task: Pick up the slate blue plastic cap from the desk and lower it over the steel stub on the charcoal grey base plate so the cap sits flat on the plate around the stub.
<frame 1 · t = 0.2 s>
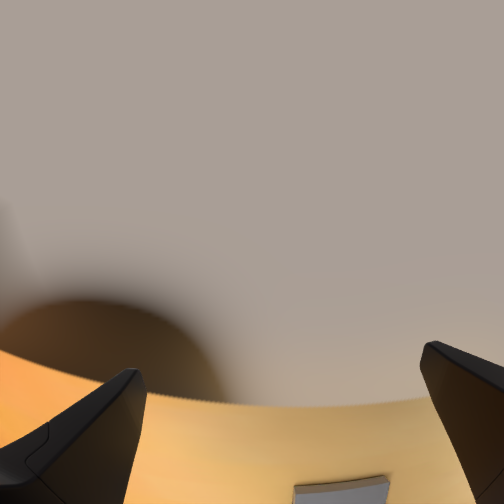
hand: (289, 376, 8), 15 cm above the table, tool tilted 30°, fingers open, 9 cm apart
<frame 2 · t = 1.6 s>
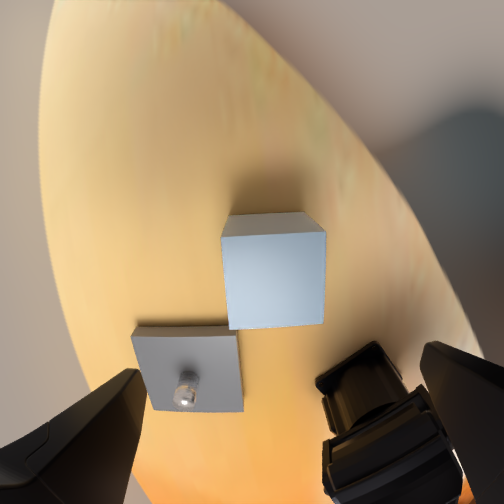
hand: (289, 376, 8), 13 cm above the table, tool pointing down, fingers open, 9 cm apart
housing cap: (268, 249, 21), on the table
base plate: (192, 367, 23), on the table
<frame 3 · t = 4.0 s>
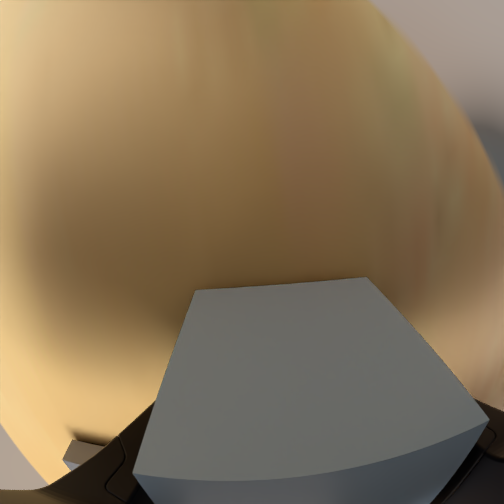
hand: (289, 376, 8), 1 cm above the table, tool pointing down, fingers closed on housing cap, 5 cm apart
housing cap: (285, 355, 9), on the table, touching gripper
base plate: (163, 490, 12), on the table
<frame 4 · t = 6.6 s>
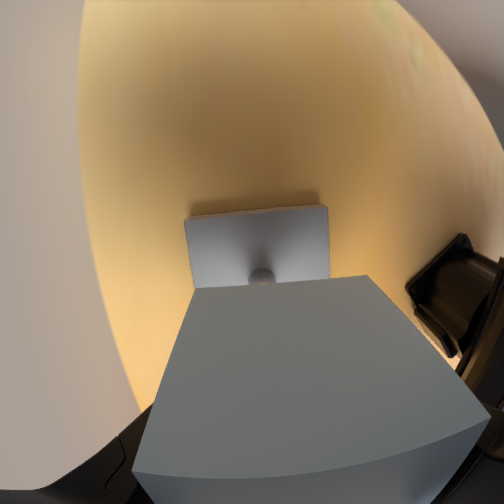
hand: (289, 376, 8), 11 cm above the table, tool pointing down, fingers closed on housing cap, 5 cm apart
housing cap: (285, 354, 9), point 10 cm above the table, touching gripper
base plate: (261, 272, 19), on the table
when the fingers open (3 cm above the table, at t = 9.0 s): housing cap stays where it is, resting on base plate.
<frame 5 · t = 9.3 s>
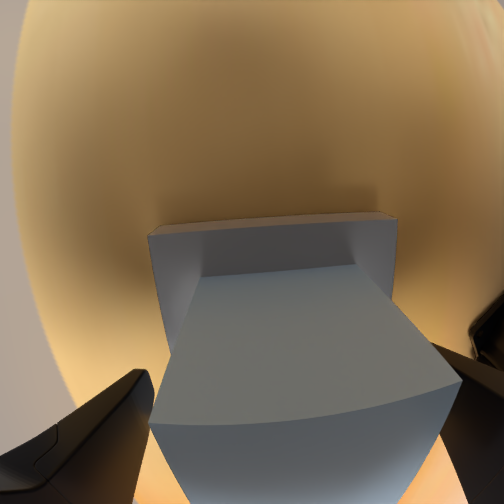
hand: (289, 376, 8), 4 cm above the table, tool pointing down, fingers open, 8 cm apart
housing cap: (282, 338, 10), point 1 cm above the table, touching base plate
base plate: (277, 319, 12), on the table
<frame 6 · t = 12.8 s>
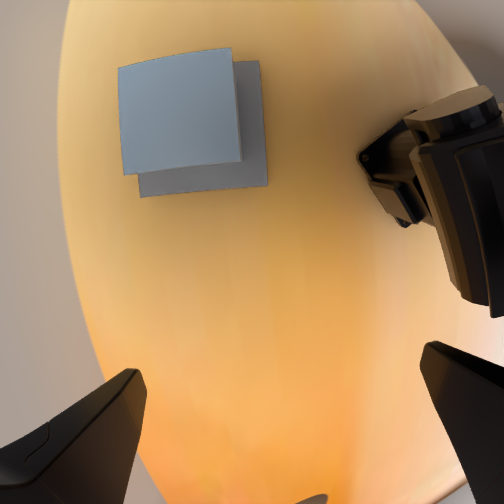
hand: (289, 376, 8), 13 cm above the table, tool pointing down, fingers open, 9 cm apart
housing cap: (197, 125, 17), point 1 cm above the table, touching base plate
base plate: (200, 128, 18), on the table
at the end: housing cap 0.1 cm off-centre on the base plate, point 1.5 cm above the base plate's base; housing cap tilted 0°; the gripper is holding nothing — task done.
